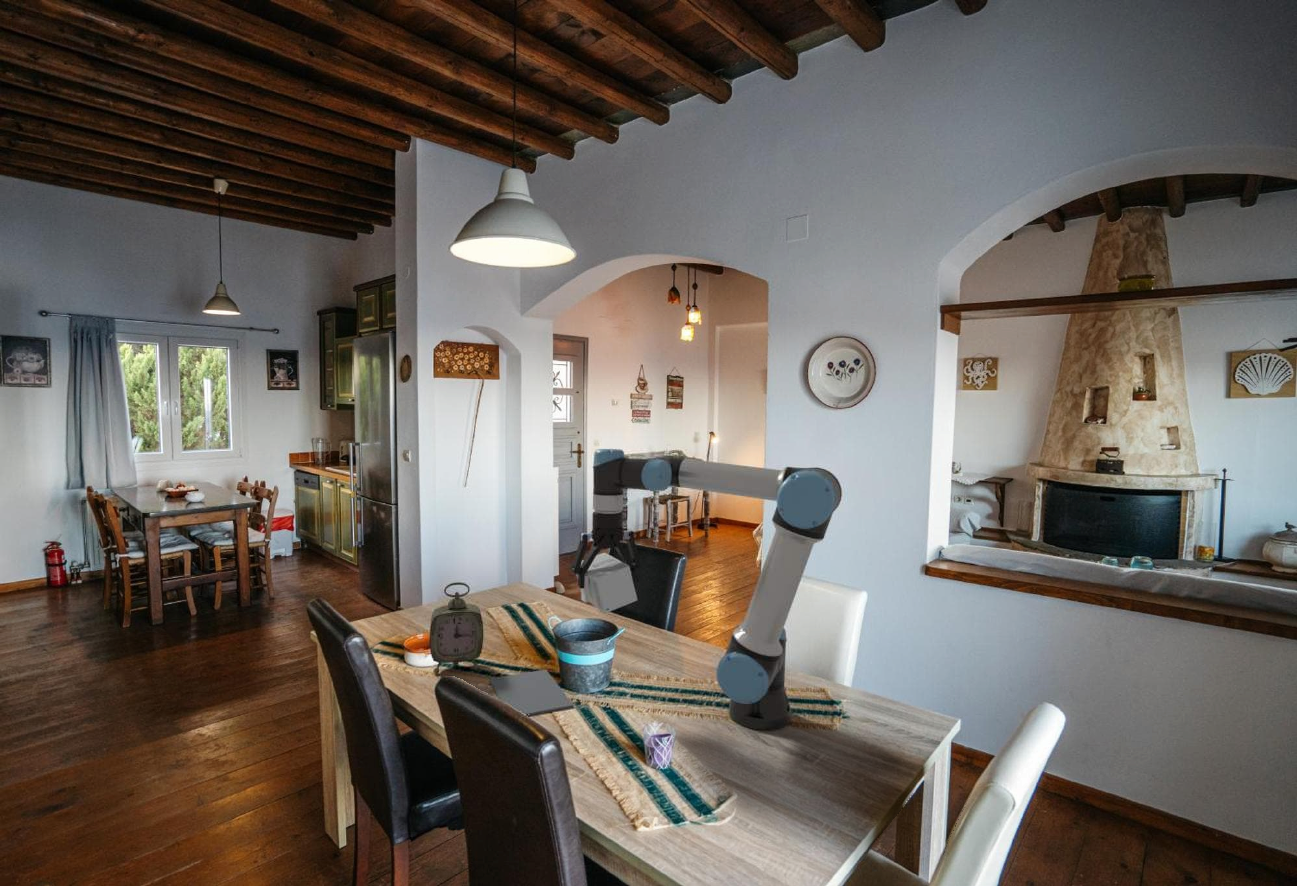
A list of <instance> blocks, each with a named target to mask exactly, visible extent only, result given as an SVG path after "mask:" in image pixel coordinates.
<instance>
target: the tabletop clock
mask: <svg viewBox="0 0 1297 886" xmlns="http://www.w3.org/2000/svg"><path fill="white" fill-rule="evenodd" d="M457 585H458V586H459V585H461V586H465V588H467V591H466V592H464V593H461V594H460V592H458V591H456V592H455V593H454V594H451V593H450V594H449V593H447V589H449V588H450V587H452V586H457ZM470 590H471V589H470V586H469V585H468V584H467V583H465V582H457V581H456V582H452V583H449V584H447V585H446V586H445V587H444V590H443V593H444V595H446V596H447V597H448V598H451V599H450V600H449V601H448V603H447V605H443V606H442V605H441V606H438V607H436V608H435V609H433V611H432V613H431V618H430V625H429V626H430V627H429V649H430V651H429V652H430V655H431V658H432V660H433V662H436V663H438V664H437V666H436V667H435V668H434V669H433V674H435V675H438V674H439V673H440V666H441V664H447V663H448V664H452V666H454V667H457V666H459V663H462V662H468V661H471V663H472V664H473V665H472V669H473V670H474V671H477V670H478V669H479V667H480V666H479V664H478V663H476V661H475V659H477V658H479V657H480V656H481V654H482V652H483V651H482V650H483V647H484V623H483V618H482V614H481V613H482V612H481V610H480V607H479V606H478V605H476V604H470V603H469V604H468V603H466V601H465V599H464V598H462V597H464V596H467V595H468V594H469V593H470Z"/></svg>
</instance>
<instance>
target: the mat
mask: <svg viewBox="0 0 1297 886" xmlns="http://www.w3.org/2000/svg"><path fill="white" fill-rule="evenodd" d="M489 682H490V684H491V686H492V687H493V690H494V692H495V694H496V695H497V697H498V699H499V701H500V700H502V702H506V703H508V704H509V705H511V706H512V707H514V708H515V709H517V710H518V711H521V712H522V713H524V714H526V715H527V716H526V717H529V716H535V715H539V714H545V713H549V712H550V713H551V712H556V711H561V710H568V709H572V708H574V703H572V701H571V700H570V698H568V696H567V695H566V694H565V692H564V690H563V689H562V688H561V687H560V686H559V684H558V683H557V682H556V680H555V679H554V678H553V677H552V675H551V674H550V673H549V672H548V671H547V669H540V670H534V671H528V672H523V673H521V672H520V673H516V674H509V675H502V676H497V677H490V678H489ZM528 714H529V715H528Z"/></svg>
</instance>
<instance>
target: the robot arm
mask: <svg viewBox="0 0 1297 886" xmlns="http://www.w3.org/2000/svg"><path fill="white" fill-rule="evenodd" d="M592 471H593V473H592V474H593V491H592V509H593V510H594V511H593V512H592V524H591V525H592V530H591V532H588V533H587V532H586V533H584V532H581V533H580V534H579V543H578V546H577V550H576V552H575V556H574V558H573V560H572V564H571V567H570V571H571V572H572V573H573V574H574V575H576V574H578V579H577V586H578V588H579V590H580V589H581V590H580V594H581V595H580V597H581V598H580V600H581V601H582V602H583V603H588V602H589V601H588V575H586V572H587V571H588V569H589V567H590V565H591V564H592V562H593V560H594V559H595V557H596V555H599V553H601V550H607V549H615V550H616V552H617V553H618V555H619V557H620V559H621V560H622V562H623V563H625V564H627V565H629V567H630V572H631V576H632V580H633V584H634V583H635V572H636V571H637V569H641V568H642V562H641V558H640V555H639V552H638V549H637V545H636V542H635V532H634V531H633V530H630V529H627V530H624V529H623V522H624V518H623V517H624V515H623V513H624V512H622V511H623V509H624V489H626V490H627V489H630V490H631V489H632V490H641V491H649V492H655V491H656V492H659V491H660V492H663V491H666V490H667V489H668V488H669V487H674V488H685V489H689V490H690V489H691V490H696V491H697V490H698V491H704V492H709V493H710V492H712V493H717V494H718V493H719V494H726V495H731V496H740V497H745V498H752V499H760V500H765V501H766V500H767V501H773V502H774V501H775V502H776V508H775V510H774V513H773V516H772V518H771V522H772V524H773V527H774V528H775V532H774V534H773V538H772V540H771V544H770V546H769V548H768V552H767V554H766V558H765V560H764V564H763V565H762V566H763V567H762V569H761V571H760V575H759V578H758V580H757V583H756V585H755V589H754V591H753V595H752V597H751V601H750V604H749V606H748V610H747V611H746V614H745V617H744V620H743V621H742V622H741V623H739V625H738V627H736V628H734V629H733V632H732V633H731V636H730V640H729V643H728V646H727V648H726V650H725V653H724V655H723V656H722V657H721V658H720V660H719V661H718V663H717V667H716V674H715V676H716V680H717V683H718V685H719V687H720V689H721V691H722V692H723V694H725V695H726V696H727V697H728V698H729V704H728V715H729V717H730V718H731V720H732V721H734V722H735V723H737V724H738V725H741V726H743V727H745V728H749V729H755V730H763V731H774V730H778V729H782V728H784V727H787V726H788V725H789V724H790V722H791V715H792V714H791V713H792V709H791V705H790V703H789V699H788V696H787V695H788V694H787V692H786V688H785V683H786V682H785V676H786V675H785V674H786V649H787V648H786V647H787V641H788V639H787V631H786V630H785V625H786V621H787V620H788V616H789V614H790V611H791V608H792V605H793V603H794V599H795V598H796V594H797V592H798V588H799V586H800V584H801V580H802V578H803V575H804V572H805V570H806V566H807V564H808V560H809V559H810V556H811V553H812V551H813V547H814V545H815V544H816V543H819V542H821V541H823V540H824V538H825V536H826V532H827V530H828V527H829V525H830V522H831V519H832V517H833V514H834V512H835V511H836V510H837V508H838V507H839V505H840V504H841V501H842V496H843V491H842V486H841V482H840V481H839V479H838V478H837V477H836V475H835V474H834V473H832V472H831V471H829V470H827V469H824V468H822V467H793V466H785V467H784V468H783V469H775V468H766V467H757V466H749V465H742V464H741V465H739V464H733V463H725V462H716V461H708V460H707V461H706V460H699V459H692V458H682V457H678V456H676V455H675V456H674V455H662V456H658V457H649V458H631V457H630V458H629V457H625V451H624V450H623V449H618V448H599V449H596V450H595V452H594V453H593V466H592ZM623 537H624V538H623ZM591 539H592V541H593V542H592V544H591V547H590V549H589V551H588V553H587V554H586V550H587V548H588V543H589V542H590V541H591ZM622 539H625V540H626V545H627V547H628V551H629V554H630V556H629V555H628V553H627V552H626V550H625V549H624V546H623V543H621V540H622ZM585 554H586V556H585ZM584 556H585V557H584ZM630 557H631V559H630ZM582 560H584V561H583V562H582ZM581 563H582V564H581Z"/></svg>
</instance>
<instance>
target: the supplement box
mask: <svg viewBox="0 0 1297 886" xmlns="http://www.w3.org/2000/svg"><path fill="white" fill-rule="evenodd" d="M583 561H584V559H583V560H582V562H583ZM581 564H582V563H581ZM575 575H576V578H577V580H578V574H575ZM586 575H588V602H589V603H591V605H593V606H594V607H595V608H596V609H598V610H599V611H600V612H601V613H603V614H607V613H610V612H612V611H614V610H617V609H619V608H622V607H624V606H627V605H629V604H632V603H633V602H637V601H638V595H637V593H636V589H635V584H634V583H633V580H632V576H631V572H630V567H629V565H627V564H625V563H624V562H623V561H621V560H620V559H617V558H615V557H614V556H612V555H610V554H608V553H607V552H603V553H598V554H597V555H596V557H595V559H594V560H593V562H592V564H591V565H590V567H589V569H588V571H587V572H586ZM579 590H580V591H581V589H580V588H579Z"/></svg>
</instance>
